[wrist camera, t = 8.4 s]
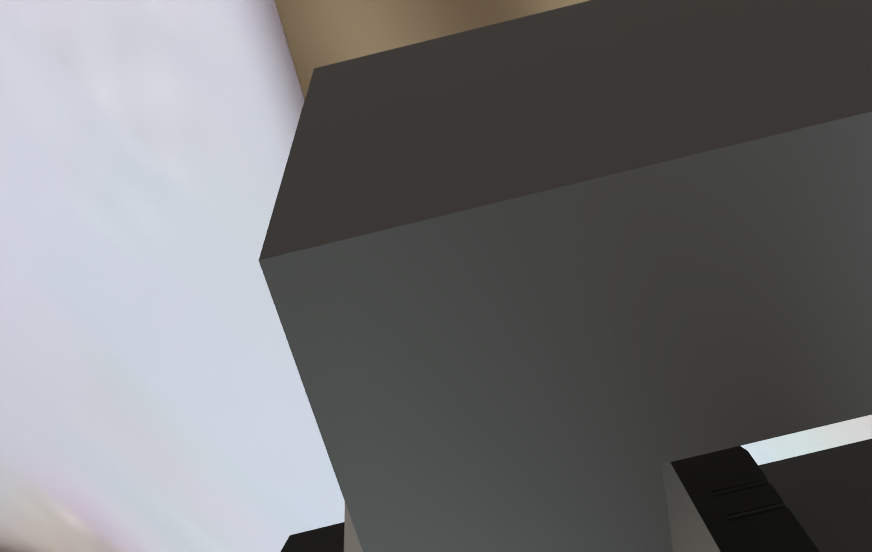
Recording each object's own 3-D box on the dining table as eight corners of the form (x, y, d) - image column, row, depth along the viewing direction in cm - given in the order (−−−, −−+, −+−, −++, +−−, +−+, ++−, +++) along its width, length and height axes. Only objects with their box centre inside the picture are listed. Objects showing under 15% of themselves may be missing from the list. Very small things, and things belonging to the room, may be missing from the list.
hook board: (374, 315, 32) (389, 642, 18) (268, -39, 26) (161, 23, 12) (940, 176, 32) (1421, 394, 18) (965, -214, 26) (1729, -372, 12)
